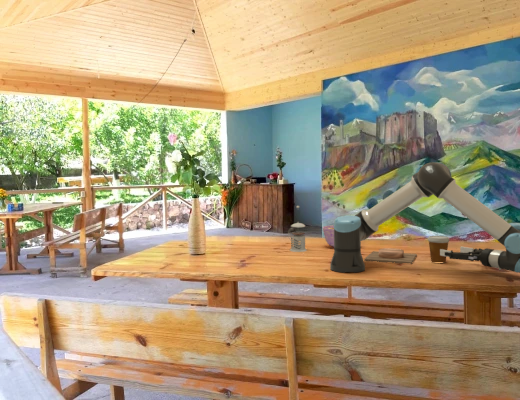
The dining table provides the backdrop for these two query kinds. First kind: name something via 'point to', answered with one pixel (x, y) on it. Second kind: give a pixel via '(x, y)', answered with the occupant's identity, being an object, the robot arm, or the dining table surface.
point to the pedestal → (391, 256)
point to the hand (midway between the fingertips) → (450, 250)
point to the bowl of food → (329, 234)
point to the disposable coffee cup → (438, 247)
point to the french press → (297, 238)
